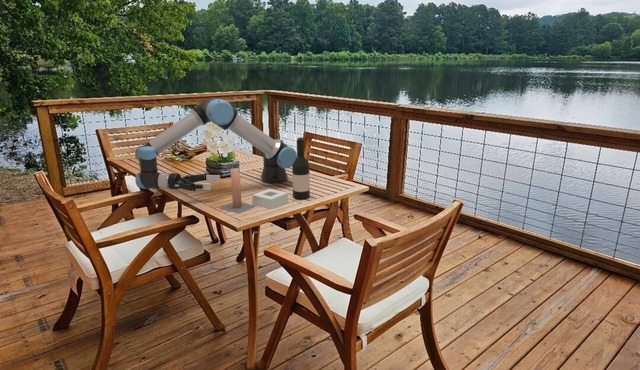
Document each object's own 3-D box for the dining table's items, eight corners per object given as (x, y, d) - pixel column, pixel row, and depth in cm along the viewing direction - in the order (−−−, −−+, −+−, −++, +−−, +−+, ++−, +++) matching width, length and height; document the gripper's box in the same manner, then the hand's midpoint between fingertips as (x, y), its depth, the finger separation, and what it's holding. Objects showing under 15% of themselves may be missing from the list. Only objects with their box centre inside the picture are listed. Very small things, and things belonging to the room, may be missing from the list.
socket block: (252, 204, 199) (252, 194, 198) (269, 198, 208) (269, 188, 207) (271, 209, 192) (271, 199, 191) (288, 202, 202) (288, 192, 200)
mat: (217, 208, 195) (217, 207, 194) (236, 201, 204) (236, 200, 204) (238, 214, 187) (238, 213, 187) (257, 207, 196) (257, 206, 196)
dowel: (231, 207, 195) (228, 169, 190) (237, 204, 198) (235, 167, 193) (237, 208, 193) (234, 170, 187) (243, 206, 196) (241, 169, 190)
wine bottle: (292, 195, 213) (291, 136, 205) (309, 194, 214) (308, 136, 205) (293, 200, 205) (291, 139, 197) (310, 199, 206) (309, 139, 197)
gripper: (181, 181, 207) (224, 182, 206) (159, 197, 184) (206, 198, 182) (180, 166, 205) (223, 167, 204) (157, 180, 181) (205, 181, 180)
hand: (215, 182), depth 193 cm, fingers open, 13 cm apart
